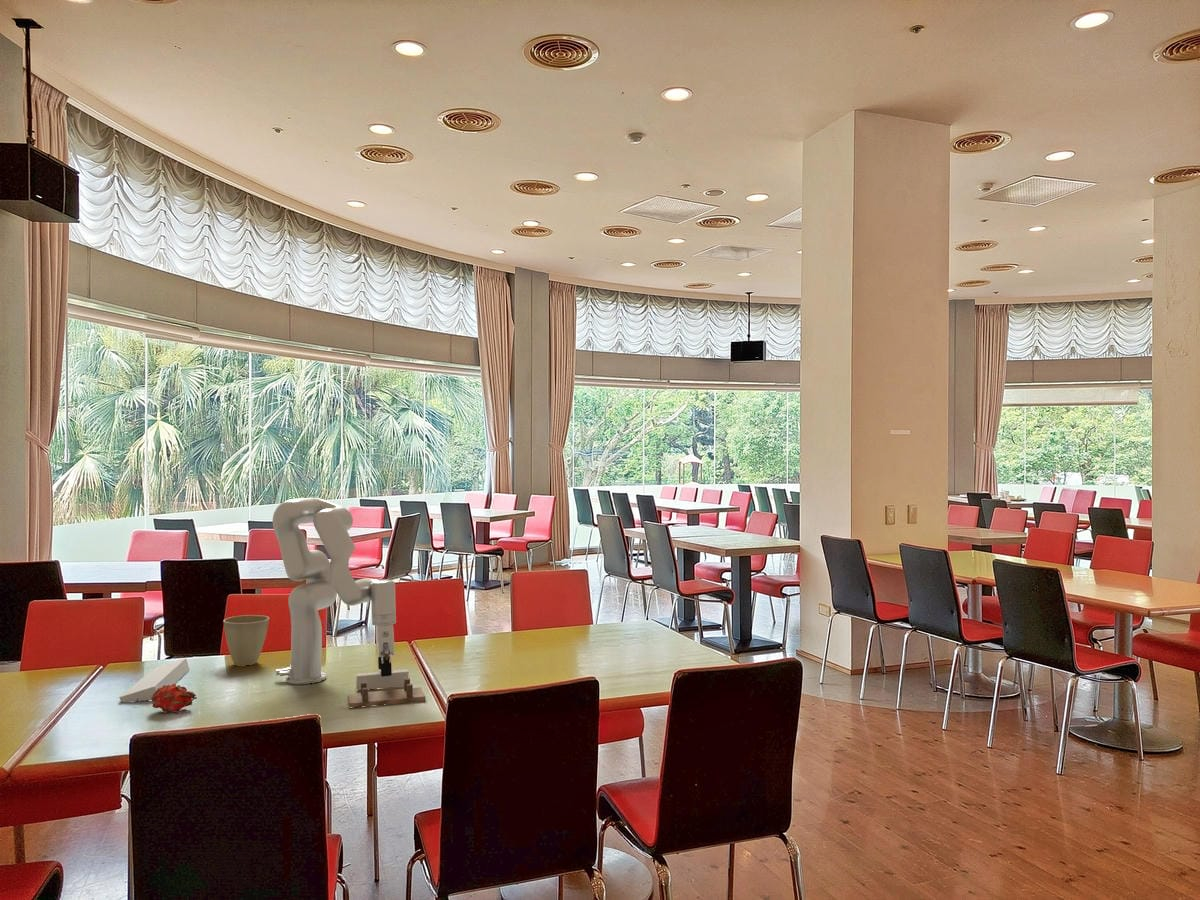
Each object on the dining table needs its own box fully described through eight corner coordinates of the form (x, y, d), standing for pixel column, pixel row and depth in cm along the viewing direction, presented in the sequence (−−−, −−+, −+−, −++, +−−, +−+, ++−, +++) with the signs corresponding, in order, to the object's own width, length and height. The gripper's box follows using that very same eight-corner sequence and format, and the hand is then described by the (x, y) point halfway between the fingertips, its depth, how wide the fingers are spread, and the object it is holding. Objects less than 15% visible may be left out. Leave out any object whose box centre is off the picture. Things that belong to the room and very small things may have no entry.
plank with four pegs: (349, 708, 235) (349, 691, 235) (347, 698, 245) (348, 682, 245) (425, 701, 243) (425, 684, 243) (420, 692, 252) (421, 676, 252)
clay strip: (356, 692, 253) (356, 676, 253) (355, 689, 255) (356, 673, 255) (408, 687, 259) (408, 671, 259) (407, 684, 261) (407, 669, 261)
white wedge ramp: (123, 712, 239) (159, 701, 241) (119, 697, 239) (154, 686, 241) (159, 680, 273) (190, 671, 275) (155, 667, 272) (186, 658, 274)
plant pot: (248, 670, 275) (249, 624, 275) (213, 667, 279) (213, 621, 279) (277, 660, 289) (278, 616, 290) (243, 657, 294) (243, 613, 294)
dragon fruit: (148, 717, 231) (193, 720, 234) (143, 707, 225) (189, 710, 227) (158, 688, 236) (201, 692, 239) (153, 677, 230) (198, 681, 232)
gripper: (398, 622, 250) (399, 677, 250) (393, 613, 266) (394, 664, 266) (373, 624, 248) (375, 680, 247) (369, 615, 264) (370, 667, 264)
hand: (384, 672), depth 257 cm, fingers open, 9 cm apart
